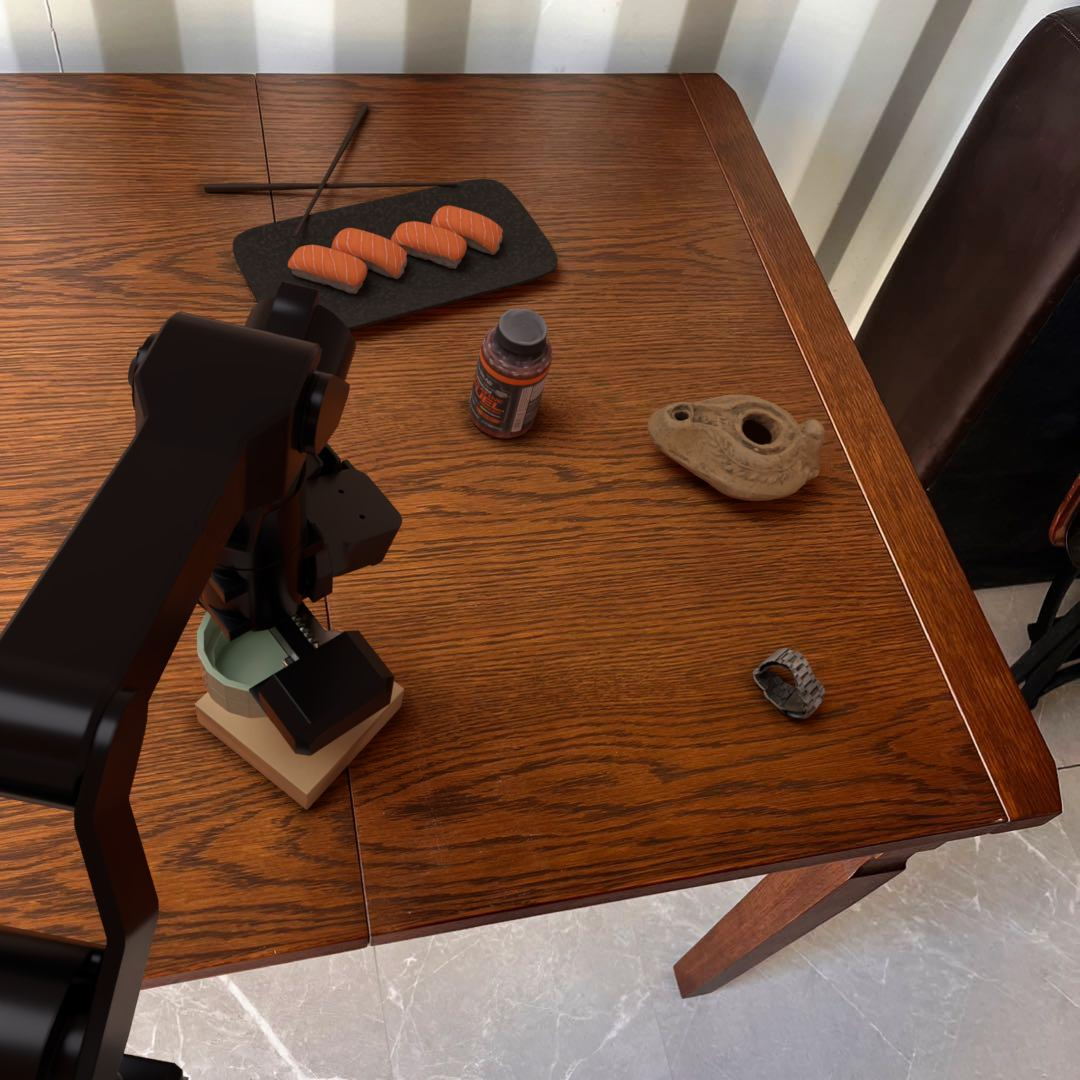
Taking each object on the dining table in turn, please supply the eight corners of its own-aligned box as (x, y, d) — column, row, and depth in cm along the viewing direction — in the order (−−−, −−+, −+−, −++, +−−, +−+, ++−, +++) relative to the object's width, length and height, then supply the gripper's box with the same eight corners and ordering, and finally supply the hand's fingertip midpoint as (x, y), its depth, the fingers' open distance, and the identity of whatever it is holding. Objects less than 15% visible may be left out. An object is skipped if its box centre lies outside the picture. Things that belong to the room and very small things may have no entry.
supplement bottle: (453, 412, 95) (469, 320, 85) (498, 378, 98) (518, 286, 88) (504, 453, 93) (526, 364, 84) (548, 417, 96) (574, 328, 87)
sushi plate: (282, 360, 94) (282, 329, 91) (164, 143, 106) (160, 109, 103) (566, 283, 106) (574, 253, 103) (430, 95, 118) (433, 64, 115)
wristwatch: (761, 712, 85) (813, 722, 81) (744, 655, 84) (796, 662, 80) (783, 692, 87) (836, 701, 83) (767, 636, 86) (820, 642, 82)
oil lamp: (632, 415, 98) (656, 355, 91) (788, 424, 101) (821, 366, 94) (648, 516, 92) (675, 459, 86) (813, 522, 95) (851, 467, 88)
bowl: (262, 742, 65) (260, 713, 62) (179, 676, 67) (171, 643, 63) (337, 664, 69) (339, 631, 65) (256, 603, 70) (254, 567, 67)
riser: (306, 810, 73) (306, 795, 71) (197, 722, 75) (194, 703, 73) (401, 706, 79) (404, 688, 76) (297, 626, 81) (297, 606, 78)
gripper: (490, 577, 54) (455, 704, 67) (283, 336, 60) (287, 495, 73) (300, 695, 49) (301, 808, 62) (94, 419, 55) (134, 575, 68)
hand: (259, 660), depth 67 cm, fingers closed on bowl, 7 cm apart
